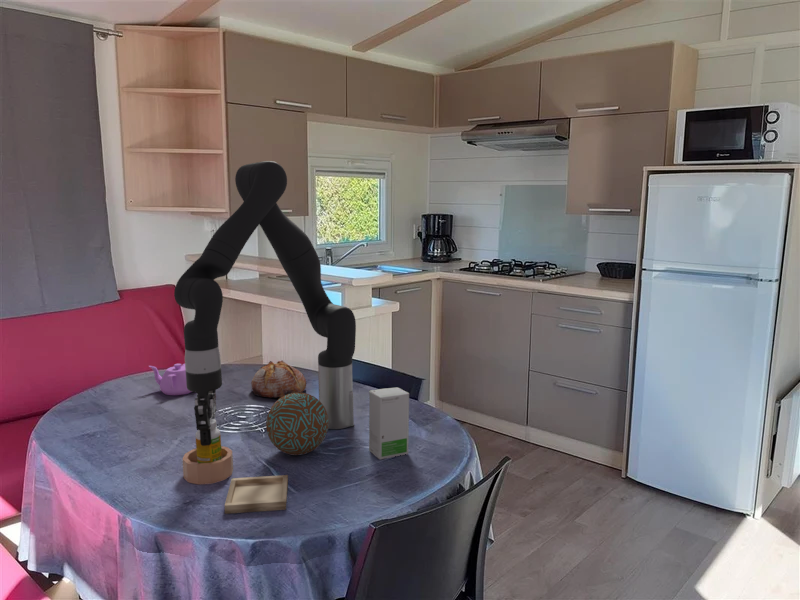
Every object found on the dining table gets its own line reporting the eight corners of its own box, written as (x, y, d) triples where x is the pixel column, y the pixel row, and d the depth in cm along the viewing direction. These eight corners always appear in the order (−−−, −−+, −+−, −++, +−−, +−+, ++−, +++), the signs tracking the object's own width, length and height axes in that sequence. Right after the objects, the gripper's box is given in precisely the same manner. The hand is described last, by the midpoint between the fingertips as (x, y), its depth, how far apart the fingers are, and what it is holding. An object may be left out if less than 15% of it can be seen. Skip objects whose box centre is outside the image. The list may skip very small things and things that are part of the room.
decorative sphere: (339, 456, 152) (338, 397, 149) (281, 471, 144) (278, 408, 141) (313, 436, 164) (312, 381, 162) (258, 448, 156) (256, 390, 154)
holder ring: (235, 462, 148) (234, 444, 148) (229, 482, 138) (228, 463, 137) (189, 465, 147) (188, 446, 146) (180, 485, 137) (178, 466, 136)
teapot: (206, 391, 201) (205, 364, 199) (163, 400, 192) (161, 372, 191) (192, 382, 210) (190, 356, 208) (150, 390, 201) (148, 364, 200)
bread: (280, 382, 214) (281, 353, 213) (317, 394, 201) (318, 364, 199) (239, 390, 202) (239, 360, 201) (275, 404, 189) (275, 371, 187)
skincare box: (379, 460, 149) (378, 398, 147) (367, 450, 155) (367, 390, 152) (410, 454, 153) (410, 392, 151) (397, 444, 159) (397, 385, 156)
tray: (288, 482, 138) (287, 474, 138) (286, 509, 127) (285, 501, 126) (232, 486, 137) (231, 478, 136) (224, 513, 125) (224, 505, 125)
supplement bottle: (215, 468, 139) (212, 426, 137) (192, 466, 140) (189, 425, 138) (226, 458, 144) (223, 417, 143) (204, 456, 145) (202, 416, 144)
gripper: (216, 376, 132) (221, 451, 135) (225, 357, 146) (229, 426, 149) (179, 377, 131) (184, 454, 134) (191, 359, 145) (196, 428, 148)
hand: (208, 439), depth 141 cm, fingers closed on supplement bottle, 5 cm apart
